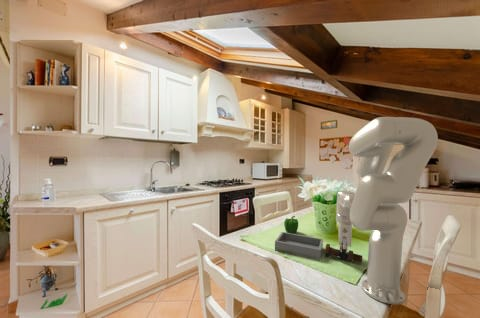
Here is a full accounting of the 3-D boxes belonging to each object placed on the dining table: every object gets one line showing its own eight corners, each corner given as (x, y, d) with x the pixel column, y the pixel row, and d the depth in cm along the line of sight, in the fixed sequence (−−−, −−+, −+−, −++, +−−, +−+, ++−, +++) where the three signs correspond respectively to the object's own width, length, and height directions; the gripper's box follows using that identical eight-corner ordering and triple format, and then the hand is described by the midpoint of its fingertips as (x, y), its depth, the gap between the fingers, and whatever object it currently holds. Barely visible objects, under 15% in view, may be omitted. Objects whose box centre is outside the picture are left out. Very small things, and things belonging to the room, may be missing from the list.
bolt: (361, 268, 95) (324, 258, 103) (361, 258, 99) (326, 249, 106) (362, 259, 93) (324, 250, 100) (362, 250, 96) (326, 241, 104)
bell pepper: (288, 235, 126) (289, 218, 125) (281, 230, 134) (282, 214, 133) (301, 234, 128) (302, 217, 128) (294, 229, 136) (294, 213, 136)
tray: (320, 260, 98) (320, 250, 98) (274, 250, 107) (275, 241, 107) (322, 247, 111) (323, 239, 111) (281, 239, 120) (282, 231, 120)
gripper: (355, 225, 89) (353, 269, 90) (353, 214, 105) (351, 251, 106) (335, 222, 93) (333, 264, 93) (336, 212, 108) (334, 248, 109)
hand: (343, 257), depth 100 cm, fingers closed on bolt, 5 cm apart
